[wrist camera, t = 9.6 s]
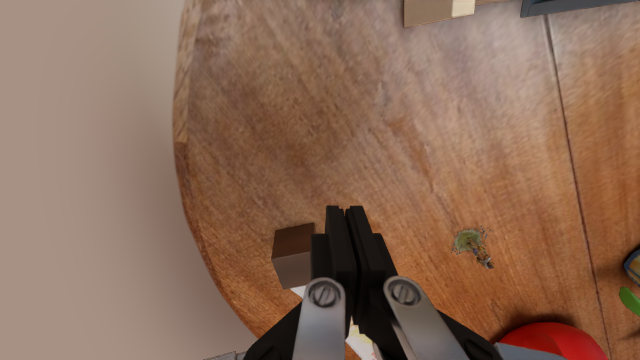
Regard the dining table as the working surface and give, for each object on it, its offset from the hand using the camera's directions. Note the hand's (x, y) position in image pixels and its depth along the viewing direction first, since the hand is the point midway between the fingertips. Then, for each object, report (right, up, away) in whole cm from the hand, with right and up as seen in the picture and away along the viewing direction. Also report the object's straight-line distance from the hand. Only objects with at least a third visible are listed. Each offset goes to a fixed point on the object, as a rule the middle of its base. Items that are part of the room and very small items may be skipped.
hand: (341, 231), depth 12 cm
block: (-3, -5, +18) cm, 19 cm away
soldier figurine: (+17, -5, +20) cm, 26 cm away
